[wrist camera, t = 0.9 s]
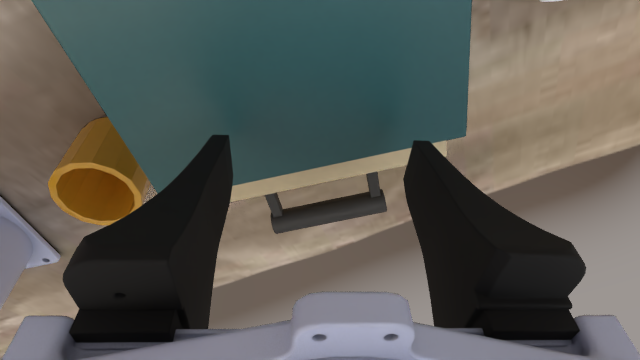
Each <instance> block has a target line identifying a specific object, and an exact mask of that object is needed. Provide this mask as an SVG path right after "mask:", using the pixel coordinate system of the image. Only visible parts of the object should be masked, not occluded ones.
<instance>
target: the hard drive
mask: <svg viewBox="0 0 640 360" xmlns="http://www.w3.org/2000/svg"><path fill="white" fill-rule="evenodd" d="M539 1H541V2H554V1H561V0H539Z"/></svg>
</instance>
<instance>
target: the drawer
mask: <svg viewBox="0 0 640 360" xmlns="http://www.w3.org/2000/svg"><path fill="white" fill-rule="evenodd" d="M432 144H433V145H434V146H435V147H436V148H437V149H438V150H439V152H440V153H441V154H442V155H443V156H444V157H447V140H446V141H441V142H437V143H432ZM411 149H412V148H408V149H404V150H399V151H394V152H390V153H385V154H380V155H376V156H371V157H366V158H361V159H357V160H352V161H347V162H343V163H338V164H333V165H329V166H324V167H319V168H315V169H310V170H305V171H300V172H296V173H291V174H286V175H282V176H277V177H272V178H268V179H263V180H258V181H253V182H249V183H244V184H239V185H235V186H232V192H231V199H230V202H234V201H239V200H244V199H248V198H253V197H258V196H263V195H265V197H266V200H267V202H268V205H269V207H270V210H271V223H272V227H273V230H274V232H275V233H276V234H278V233H283V232H288V231H293V230H298V229H303V228H307V227H312V226H317V225H322V224H327V223H332V222H337V221H342V220H347V219H352V218H357V217H362V216H367V215H372V214H377V213H382V212H386V211H387V207H386V202H385V197H384V193H383V190H382V189H380V187H379V180H378V173H377V171H382V170H386V169H391V168H396V167H401V166H405V165H407V164H408V160H409V156H410V152H411ZM363 174H366V175H367V181H368V187H369V192H365V193H360V194H355V195H351V196H346V197H341V198H336V199H331V200H326V201H322V202H317V203H312V204H307V205H302V206H297V207H292V208H288V209H283V208H282V206H281V203H280V201H279V198H278V195H277V192H282V191H286V190H291V189H296V188H301V187H305V186H310V185H315V184H320V183H325V182H329V181H334V180H339V179H344V178H348V177H353V176H358V175H363Z"/></svg>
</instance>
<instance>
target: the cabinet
mask: <svg viewBox="0 0 640 360" xmlns="http://www.w3.org/2000/svg"><path fill="white" fill-rule="evenodd" d="M32 2H33V3H34V5H35V6H36V8H37V10H38V11H39V13H40V14H41V16H42V17H43V19H44V20H45V22H46V23H47V25H48V26H49V28H50V29H51V31H52V33H53V34H54V36H55V37H56V39H57V40H58V42H59V43H60V45H61V46H62V48H63V49H64V51H65V52H66V54H67V55H68V57H69V59H70V60H71V62H72V63H73V65H74V66H75V68H76V69H77V71H78V72H79V74H80V75H81V77H82V78H83V80H84V81H85V83H86V85H87V86H88V88H89V89H90V91H91V92H92V94H93V95H94V97H95V98H96V100H97V101H98V103H99V104H100V106H101V108H102V109H103V111H104V112H105V114H106V115H107V117H108V118H109V120H110V121H111V123H112V124H113V126H114V127H115V129H116V130H117V132H118V134H119V135H120V137H121V138H122V140H123V141H124V143H125V144H126V146H127V147H128V149H129V150H130V152H131V153H132V155H133V156H134V158H135V160H136V161H137V163H138V164H139V166H140V167H141V169H142V170H143V172H144V173H145V175H146V176H147V178H148V179H149V181H150V183H151V184H152V186H153V187H154V189H155V190H156V192H157V193H159V192H161V191H162V190H163V189H164V188H165V187H166V186H167V185H169V184H170V183H171V182H172V181H173V180H174V179H175V178H176V177H177V176H178V175H179V174H180V173H181V172H182V171H183V170H184V169H185V167H186V166H187V165H188V164H189V163H190V162H191V161H192V159H193V158H194V157H195V156H196V155H197V154H198V152H199V151H200V150H201V149H202V147H203V146H204V145H205V143H206V142H207V141H208V139H209V138H210V137H211V136H212V135H229V140H230V149H231V158H232V167H233V184H232V186H235V185H239V184H244V183H249V182H253V181H258V180H263V179H268V178H272V177H277V176H282V175H286V174H291V173H296V172H300V171H305V170H310V169H315V168H319V167H324V166H329V165H333V164H338V163H343V162H347V161H352V160H357V159H361V158H366V157H371V156H376V155H380V154H385V153H390V152H394V151H399V150H404V149H408V148H412V145H413V141H414V140H421V141H430V142H431V143H437V142H441V141H446V140H451V139H455V138H460V137H465V136H466V128H467V104H468V80H469V56H470V33H471V9H472V0H32Z"/></svg>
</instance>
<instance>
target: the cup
mask: <svg viewBox="0 0 640 360" xmlns="http://www.w3.org/2000/svg"><path fill="white" fill-rule="evenodd" d="M48 186H49V191H50V195H51V198H52V199H53V200H54V202H55V203H56V204H57V205H58V206H59V207H60V208H61V209H62V210H63V211H64V212H66V213H68V214H69V215H71V216H73V217H75V218H77V219H78V220H81V221H84V222H88V223H92V224H96V225H110V224H112V223H114V222H116V221H118V220H120V219H121V218H123V217H125V216H126V215H128V214H130V213H131V212H133V211H135V210H136V209H138V208H139V207H140V206H142V205H143V203H144V200H145V197H146V194H147V192H148V189H149V186H150V181H149V179H148V178H147V176H146V175H145V173H144V172H143V170H142V169H141V167H140V166H139V164H138V163H137V161H136V160H135V158H134V156H133V155H132V153H131V152H130V150H129V149H128V147H127V146H126V144H125V143H124V141H123V140H122V138H121V137H120V135H119V134H118V132H117V130H116V129H115V127H114V126H113V124H112V123H111V121H110V120H109V118H108V117H103V118H98V119H95V120H93V121H91V122H89V123H88V124H86V125H85V126H84V127H83V128H82V129H81V131H80V132H79V134H78V135H77V137H76V138H75V140H74V141H73V143H72V145H71V146H70V148H69V149H68V151H67V152H66V154H65V155H64V157H63V158H62V160H61V161H60V163H59V164H58V166H57V167H56V169H55V170H54V172H53V174H52V176H51V178H50V180H49V182H48Z"/></svg>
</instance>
